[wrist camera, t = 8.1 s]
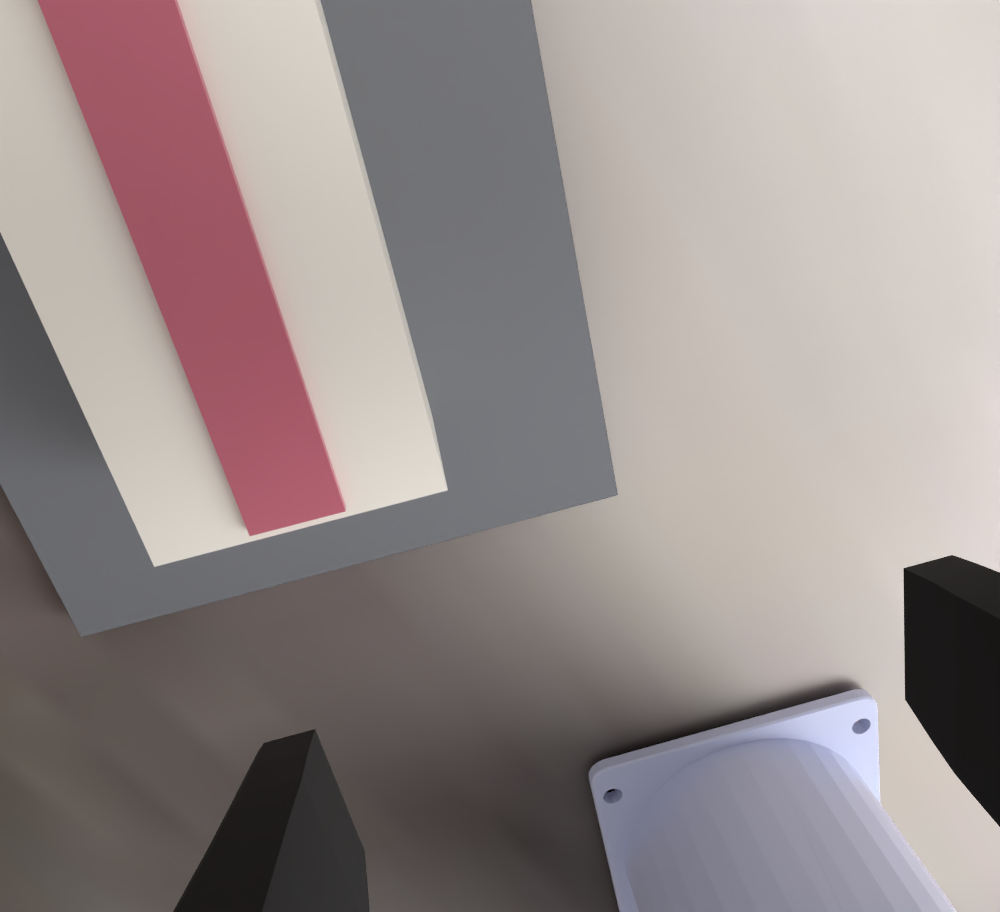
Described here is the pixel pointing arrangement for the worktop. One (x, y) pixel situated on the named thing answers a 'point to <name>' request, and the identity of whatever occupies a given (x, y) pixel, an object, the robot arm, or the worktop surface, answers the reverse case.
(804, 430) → the worktop surface
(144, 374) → the card deck
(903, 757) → the worktop surface
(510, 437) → the mat
